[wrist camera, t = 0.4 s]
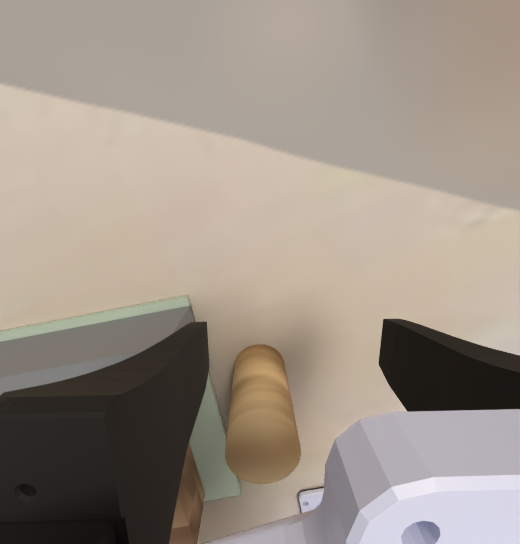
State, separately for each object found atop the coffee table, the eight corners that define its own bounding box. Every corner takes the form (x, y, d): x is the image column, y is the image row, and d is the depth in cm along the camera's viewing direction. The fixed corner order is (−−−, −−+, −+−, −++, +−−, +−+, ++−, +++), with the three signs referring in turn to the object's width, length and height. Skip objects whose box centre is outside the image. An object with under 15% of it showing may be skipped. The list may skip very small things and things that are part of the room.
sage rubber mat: (241, 490, 26) (240, 495, 26) (69, 520, 26) (66, 525, 26) (188, 294, 21) (187, 296, 21) (-20, 334, 22) (-25, 337, 21)
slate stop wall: (197, 327, 22) (175, 379, 16) (-5, 365, 22) (-105, 430, 16) (190, 303, 21) (165, 347, 15) (-16, 343, 22) (-124, 400, 16)
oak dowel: (288, 384, 23) (305, 476, 16) (239, 393, 23) (233, 489, 16) (279, 340, 22) (294, 415, 15) (229, 349, 22) (217, 429, 15)
